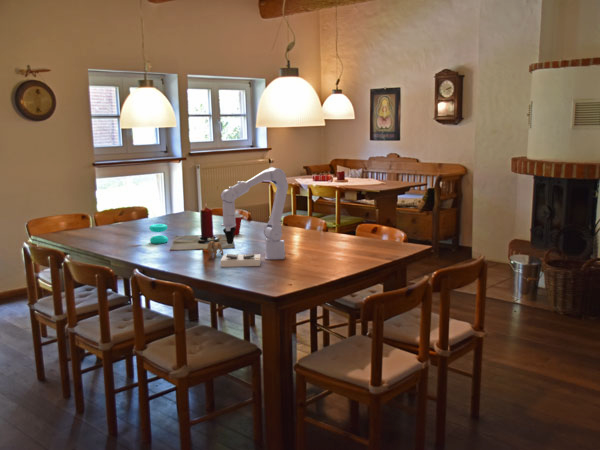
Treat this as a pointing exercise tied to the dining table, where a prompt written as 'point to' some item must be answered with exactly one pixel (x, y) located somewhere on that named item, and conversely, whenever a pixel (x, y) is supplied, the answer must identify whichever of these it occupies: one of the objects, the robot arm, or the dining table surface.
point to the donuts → (159, 238)
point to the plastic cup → (238, 223)
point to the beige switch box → (241, 261)
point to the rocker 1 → (232, 256)
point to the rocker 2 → (249, 256)
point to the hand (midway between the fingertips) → (230, 243)
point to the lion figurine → (214, 248)
